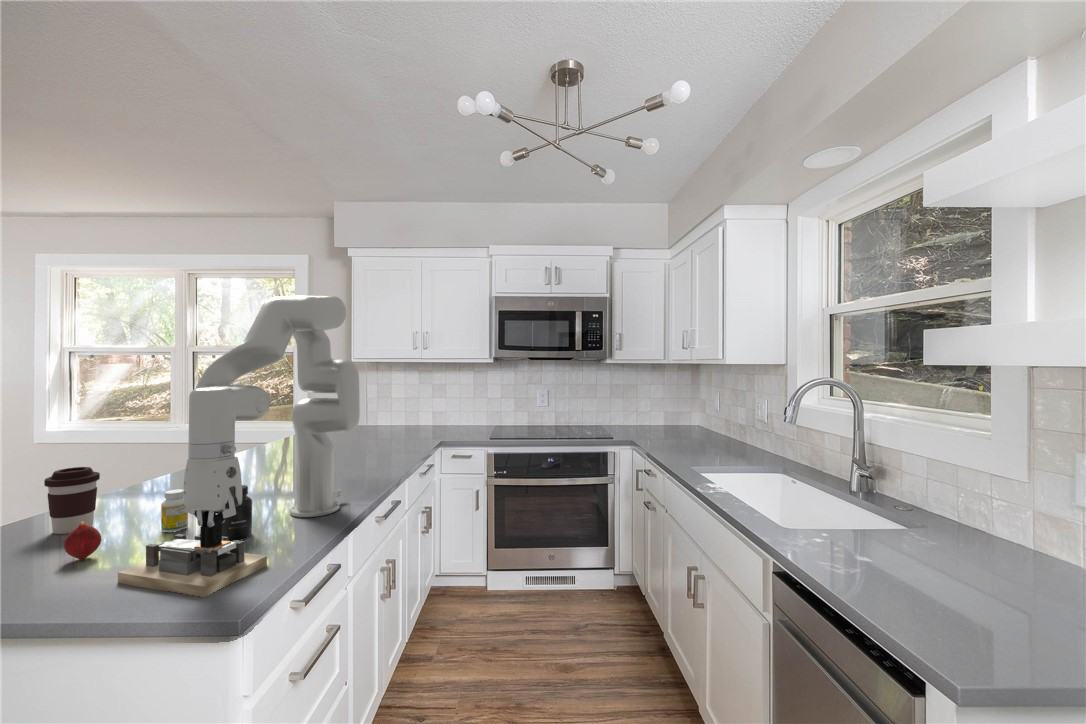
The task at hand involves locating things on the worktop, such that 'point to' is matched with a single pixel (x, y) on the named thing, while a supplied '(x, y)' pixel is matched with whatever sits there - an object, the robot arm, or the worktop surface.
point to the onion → (82, 541)
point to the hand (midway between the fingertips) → (211, 544)
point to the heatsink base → (191, 580)
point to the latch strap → (195, 545)
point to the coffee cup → (71, 498)
